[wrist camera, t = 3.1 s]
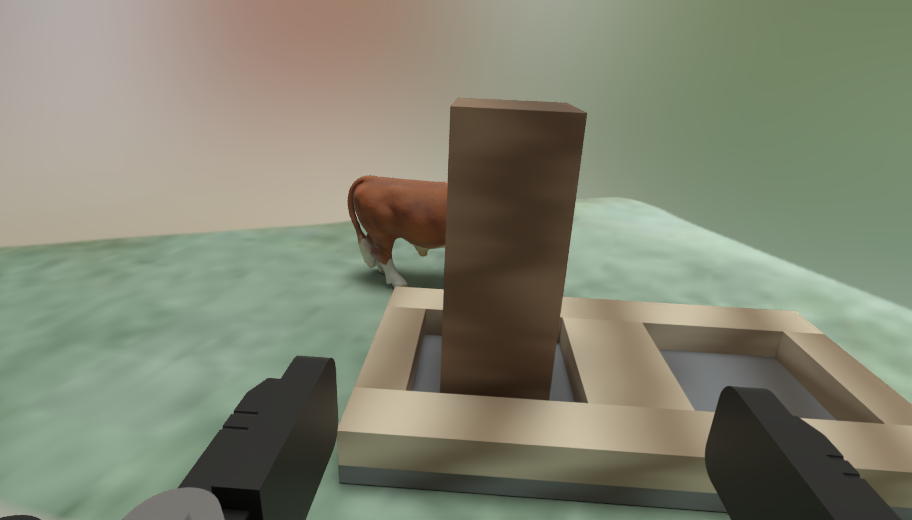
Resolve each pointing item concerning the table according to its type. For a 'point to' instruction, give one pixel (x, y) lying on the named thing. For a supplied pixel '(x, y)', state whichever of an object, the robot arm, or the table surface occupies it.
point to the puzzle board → (612, 405)
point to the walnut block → (507, 243)
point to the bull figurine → (397, 218)
